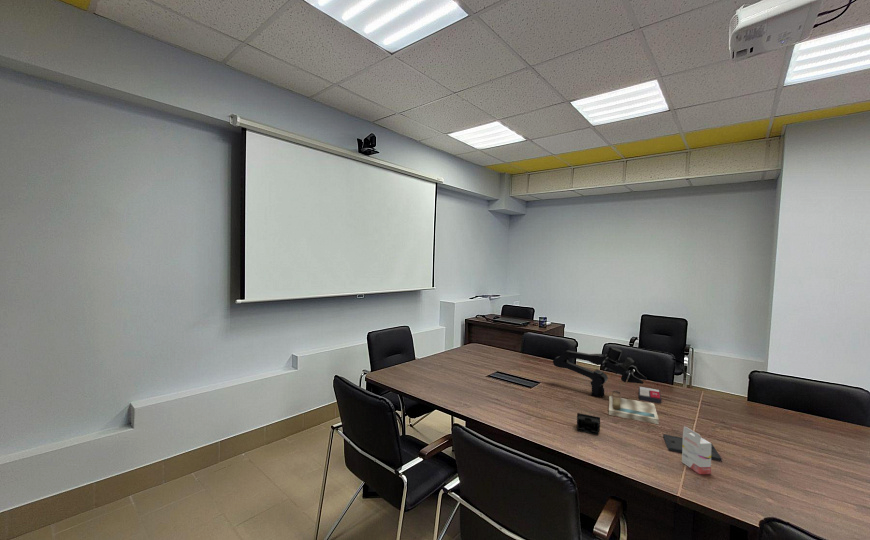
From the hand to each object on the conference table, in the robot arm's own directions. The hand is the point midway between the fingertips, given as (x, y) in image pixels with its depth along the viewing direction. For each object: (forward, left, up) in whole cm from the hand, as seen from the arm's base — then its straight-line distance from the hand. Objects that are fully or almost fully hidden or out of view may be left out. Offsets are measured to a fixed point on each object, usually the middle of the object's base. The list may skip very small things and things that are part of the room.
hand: (645, 381), depth 190 cm
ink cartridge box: (+13, -59, -15) cm, 62 cm away
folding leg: (-14, -10, -12) cm, 21 cm away
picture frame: (+14, -42, -15) cm, 47 cm away
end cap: (-26, -46, -15) cm, 55 cm away
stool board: (-6, -11, -15) cm, 19 cm away
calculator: (+4, +18, -15) cm, 24 cm away
